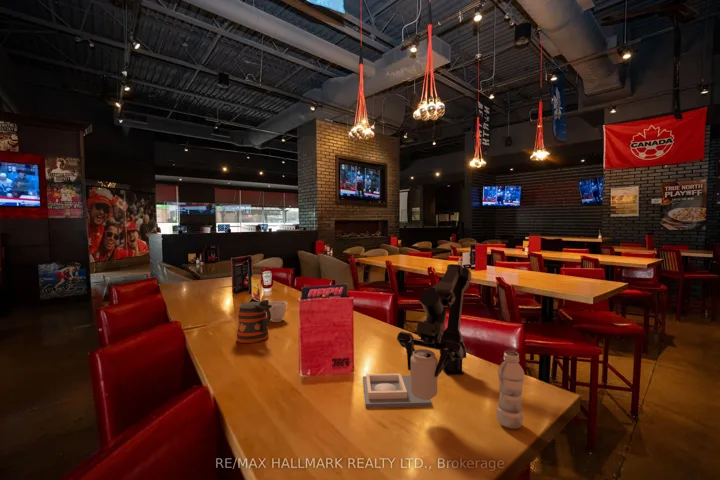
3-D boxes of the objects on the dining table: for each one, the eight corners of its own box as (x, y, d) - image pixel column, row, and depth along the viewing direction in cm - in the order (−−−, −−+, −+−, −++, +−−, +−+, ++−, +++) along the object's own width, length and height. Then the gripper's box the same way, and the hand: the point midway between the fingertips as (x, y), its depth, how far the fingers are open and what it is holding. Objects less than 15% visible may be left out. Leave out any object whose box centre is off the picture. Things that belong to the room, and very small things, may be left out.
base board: (418, 378, 112) (418, 369, 112) (431, 406, 95) (431, 396, 95) (362, 379, 111) (362, 370, 111) (365, 407, 94) (365, 397, 94)
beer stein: (282, 336, 153) (281, 296, 152) (261, 347, 140) (260, 303, 139) (252, 331, 161) (251, 292, 160) (229, 340, 148) (229, 298, 147)
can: (436, 403, 85) (437, 360, 84) (408, 399, 87) (409, 356, 86) (437, 389, 92) (438, 349, 91) (411, 385, 94) (412, 346, 93)
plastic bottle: (491, 418, 89) (493, 349, 88) (514, 417, 90) (516, 348, 89) (504, 433, 83) (505, 358, 82) (528, 432, 83) (530, 358, 82)
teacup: (259, 324, 171) (259, 306, 171) (271, 317, 186) (271, 300, 185) (280, 326, 169) (280, 307, 169) (290, 318, 184) (290, 301, 183)
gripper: (399, 305, 96) (383, 353, 87) (461, 314, 87) (450, 369, 78) (408, 323, 103) (394, 369, 95) (467, 333, 94) (457, 386, 85)
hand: (422, 373), depth 88 cm, fingers closed on can, 7 cm apart
